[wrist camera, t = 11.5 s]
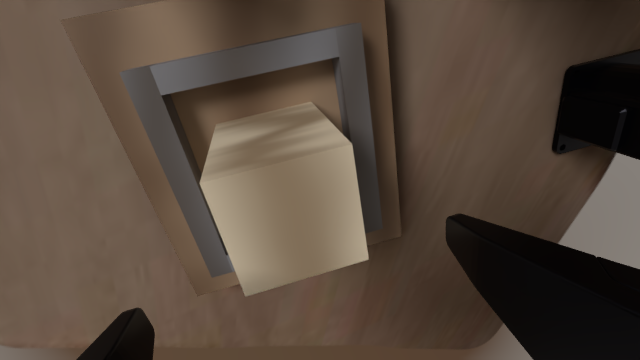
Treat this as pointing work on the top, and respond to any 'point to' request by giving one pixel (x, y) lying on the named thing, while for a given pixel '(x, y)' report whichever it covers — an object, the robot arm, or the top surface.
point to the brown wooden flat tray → (238, 99)
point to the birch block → (284, 196)
